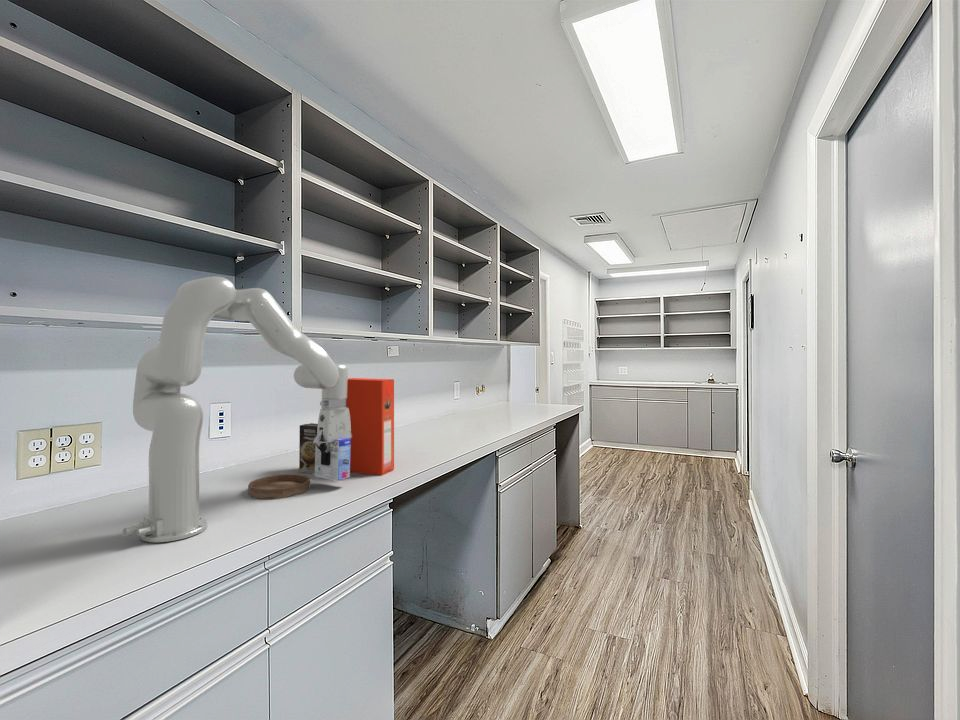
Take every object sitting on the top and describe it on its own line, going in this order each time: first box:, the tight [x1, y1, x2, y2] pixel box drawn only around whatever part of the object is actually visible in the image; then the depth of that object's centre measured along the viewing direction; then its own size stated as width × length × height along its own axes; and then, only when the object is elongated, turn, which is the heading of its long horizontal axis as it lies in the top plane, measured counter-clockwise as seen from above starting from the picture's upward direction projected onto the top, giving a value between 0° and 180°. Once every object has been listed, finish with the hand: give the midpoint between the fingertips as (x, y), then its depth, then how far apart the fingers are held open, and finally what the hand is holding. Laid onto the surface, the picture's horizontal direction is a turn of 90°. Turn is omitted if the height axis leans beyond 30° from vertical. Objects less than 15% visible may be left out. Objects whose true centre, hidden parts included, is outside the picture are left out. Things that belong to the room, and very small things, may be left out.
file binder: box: [347, 377, 395, 476], centre depth 158 cm, size 8×17×32 cm, turn 70°
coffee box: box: [298, 422, 318, 474], centre depth 157 cm, size 9×6×16 cm
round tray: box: [247, 473, 311, 500], centre depth 135 cm, size 17×17×3 cm
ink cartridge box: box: [314, 438, 351, 482], centre depth 139 cm, size 10×6×14 cm, turn 64°
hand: (332, 462), depth 139 cm, fingers closed on ink cartridge box, 5 cm apart
